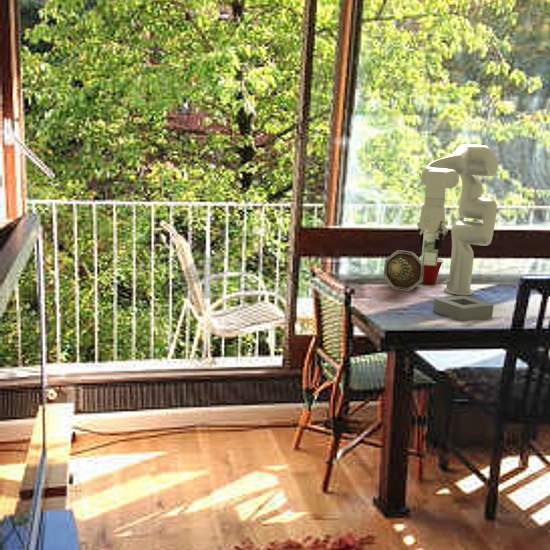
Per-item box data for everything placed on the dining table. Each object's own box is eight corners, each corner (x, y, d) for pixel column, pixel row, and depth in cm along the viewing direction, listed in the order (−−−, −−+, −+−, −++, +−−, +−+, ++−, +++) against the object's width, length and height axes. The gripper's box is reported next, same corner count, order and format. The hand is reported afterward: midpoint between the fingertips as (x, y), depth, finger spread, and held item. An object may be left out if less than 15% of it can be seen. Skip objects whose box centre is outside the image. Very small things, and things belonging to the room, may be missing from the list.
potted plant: (392, 250, 351) (378, 243, 323) (431, 256, 345) (420, 250, 317) (385, 288, 351) (371, 284, 323) (424, 295, 345) (413, 292, 317)
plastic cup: (443, 286, 349) (446, 260, 346) (419, 285, 349) (422, 259, 346) (439, 281, 359) (441, 256, 357) (416, 280, 360) (418, 255, 357)
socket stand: (433, 311, 303) (434, 298, 302) (462, 307, 312) (464, 295, 311) (462, 321, 290) (463, 308, 289) (492, 317, 298) (493, 304, 297)
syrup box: (435, 263, 303) (438, 227, 300) (436, 266, 297) (440, 229, 294) (421, 262, 303) (423, 226, 300) (421, 265, 298) (424, 228, 294)
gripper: (412, 199, 300) (408, 243, 304) (442, 205, 286) (438, 252, 289) (427, 199, 304) (423, 242, 308) (457, 205, 289) (453, 250, 293)
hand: (430, 247), depth 299 cm, fingers closed on syrup box, 8 cm apart
